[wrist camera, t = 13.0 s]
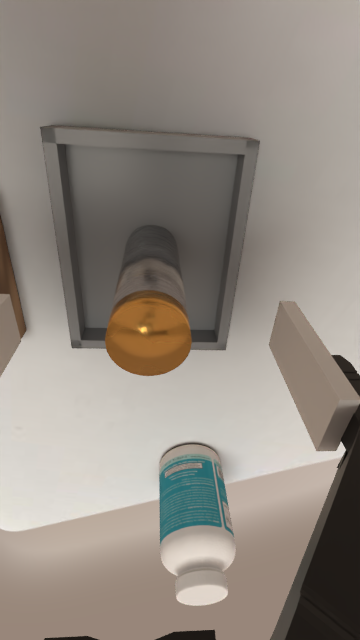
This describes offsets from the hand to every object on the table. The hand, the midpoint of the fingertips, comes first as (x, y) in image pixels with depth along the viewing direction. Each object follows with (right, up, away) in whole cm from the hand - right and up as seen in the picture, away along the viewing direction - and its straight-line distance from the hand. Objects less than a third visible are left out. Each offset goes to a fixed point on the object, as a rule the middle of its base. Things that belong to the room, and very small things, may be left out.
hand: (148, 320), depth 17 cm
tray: (-1, +6, +9) cm, 11 cm away
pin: (-1, +5, +9) cm, 10 cm away
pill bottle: (+3, -17, +24) cm, 30 cm away
